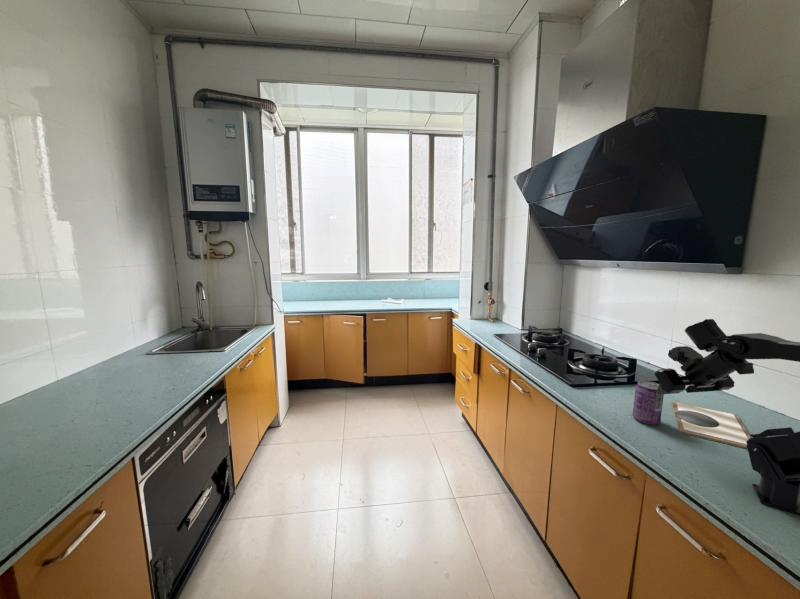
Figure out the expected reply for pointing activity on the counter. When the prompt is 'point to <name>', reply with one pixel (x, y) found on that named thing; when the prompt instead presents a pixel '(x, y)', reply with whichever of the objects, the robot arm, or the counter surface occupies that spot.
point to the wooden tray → (711, 424)
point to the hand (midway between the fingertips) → (672, 392)
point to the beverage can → (647, 403)
